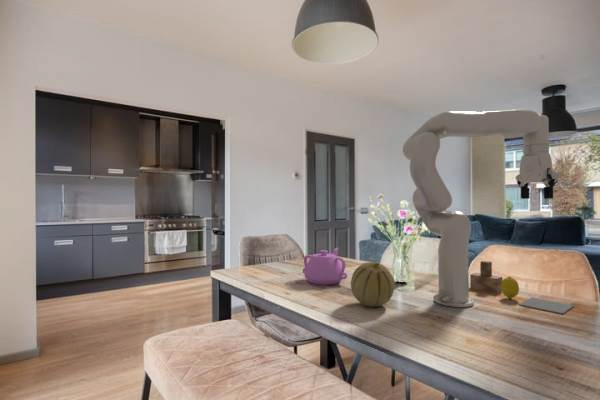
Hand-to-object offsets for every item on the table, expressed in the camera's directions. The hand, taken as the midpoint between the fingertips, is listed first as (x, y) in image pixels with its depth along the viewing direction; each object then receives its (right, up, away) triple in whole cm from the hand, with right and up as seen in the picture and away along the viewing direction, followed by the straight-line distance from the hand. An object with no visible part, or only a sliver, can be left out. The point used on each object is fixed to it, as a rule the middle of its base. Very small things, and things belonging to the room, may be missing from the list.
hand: (536, 198), depth 124 cm
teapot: (-73, -37, +29) cm, 87 cm away
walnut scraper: (-11, -36, +13) cm, 40 cm away
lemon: (-10, -36, 0) cm, 37 cm away
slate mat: (-3, -36, -9) cm, 37 cm away
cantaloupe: (-60, -37, -7) cm, 71 cm away
